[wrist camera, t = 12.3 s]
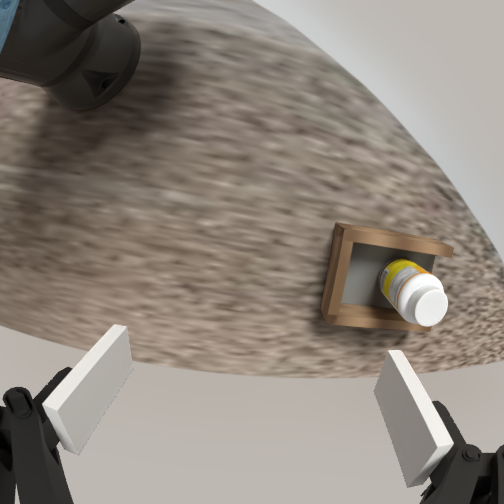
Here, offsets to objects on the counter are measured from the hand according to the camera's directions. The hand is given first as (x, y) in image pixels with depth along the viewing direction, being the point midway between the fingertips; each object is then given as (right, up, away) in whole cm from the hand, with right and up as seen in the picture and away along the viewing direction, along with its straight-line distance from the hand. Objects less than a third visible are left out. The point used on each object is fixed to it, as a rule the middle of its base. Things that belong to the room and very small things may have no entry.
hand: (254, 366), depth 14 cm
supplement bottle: (+18, +2, +21) cm, 28 cm away
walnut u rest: (+16, +3, +22) cm, 28 cm away
